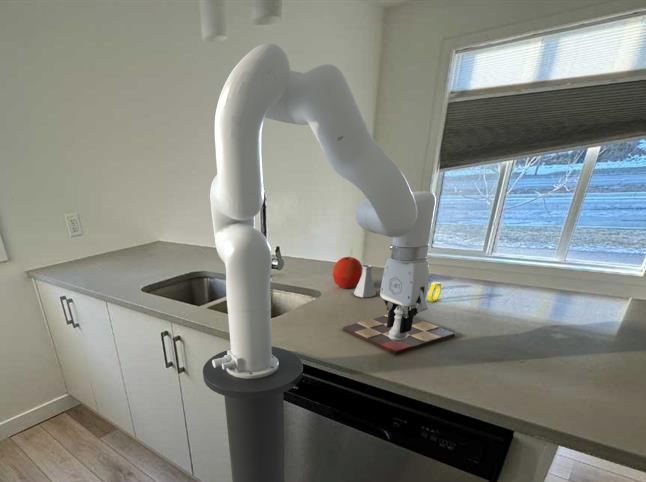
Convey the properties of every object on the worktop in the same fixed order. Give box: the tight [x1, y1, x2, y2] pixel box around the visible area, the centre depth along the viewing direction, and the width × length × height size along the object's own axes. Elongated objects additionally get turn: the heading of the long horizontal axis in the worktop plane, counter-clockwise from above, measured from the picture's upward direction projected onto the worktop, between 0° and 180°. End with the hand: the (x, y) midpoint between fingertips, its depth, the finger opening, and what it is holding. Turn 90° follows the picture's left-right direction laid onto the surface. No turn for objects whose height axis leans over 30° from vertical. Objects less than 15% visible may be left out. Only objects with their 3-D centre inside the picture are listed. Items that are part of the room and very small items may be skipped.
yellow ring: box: [427, 281, 442, 303], centre depth 128 cm, size 6×3×6 cm, turn 131°
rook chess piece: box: [388, 305, 408, 341], centre depth 98 cm, size 4×4×8 cm
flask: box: [353, 264, 377, 298], centre depth 138 cm, size 7×7×10 cm
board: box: [342, 313, 456, 356], centre depth 110 cm, size 20×20×1 cm
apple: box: [332, 255, 363, 289], centre depth 147 cm, size 10×10×12 cm
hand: (398, 328), depth 99 cm, fingers closed on rook chess piece, 3 cm apart
